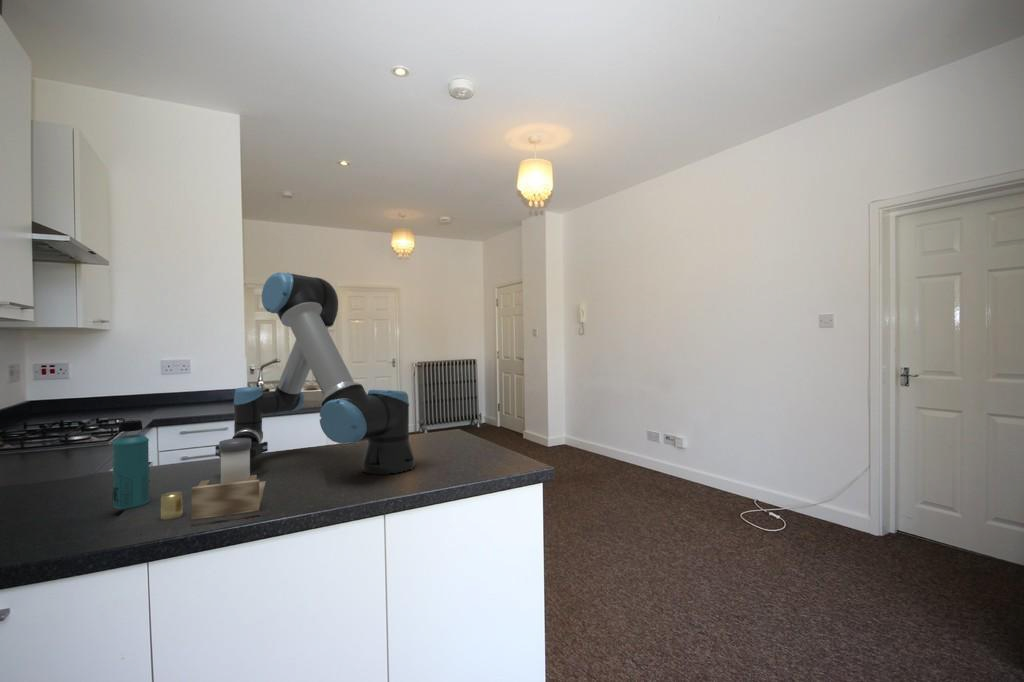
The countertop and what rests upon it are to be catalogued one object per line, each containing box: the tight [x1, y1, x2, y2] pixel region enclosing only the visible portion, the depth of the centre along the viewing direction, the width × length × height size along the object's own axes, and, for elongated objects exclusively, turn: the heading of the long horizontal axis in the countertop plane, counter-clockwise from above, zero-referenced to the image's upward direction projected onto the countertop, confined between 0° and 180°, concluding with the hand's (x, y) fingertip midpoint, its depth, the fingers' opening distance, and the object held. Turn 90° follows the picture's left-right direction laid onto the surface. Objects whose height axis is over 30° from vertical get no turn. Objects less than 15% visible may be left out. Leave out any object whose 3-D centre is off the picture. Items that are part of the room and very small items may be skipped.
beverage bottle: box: [111, 419, 151, 510], centre depth 104 cm, size 6×7×20 cm
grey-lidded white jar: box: [218, 438, 251, 484], centre depth 113 cm, size 7×7×12 cm
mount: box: [190, 474, 266, 528], centre depth 108 cm, size 12×24×8 cm, turn 24°
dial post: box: [160, 491, 183, 520], centre depth 97 cm, size 4×4×6 cm
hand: (234, 461), depth 116 cm, fingers closed
